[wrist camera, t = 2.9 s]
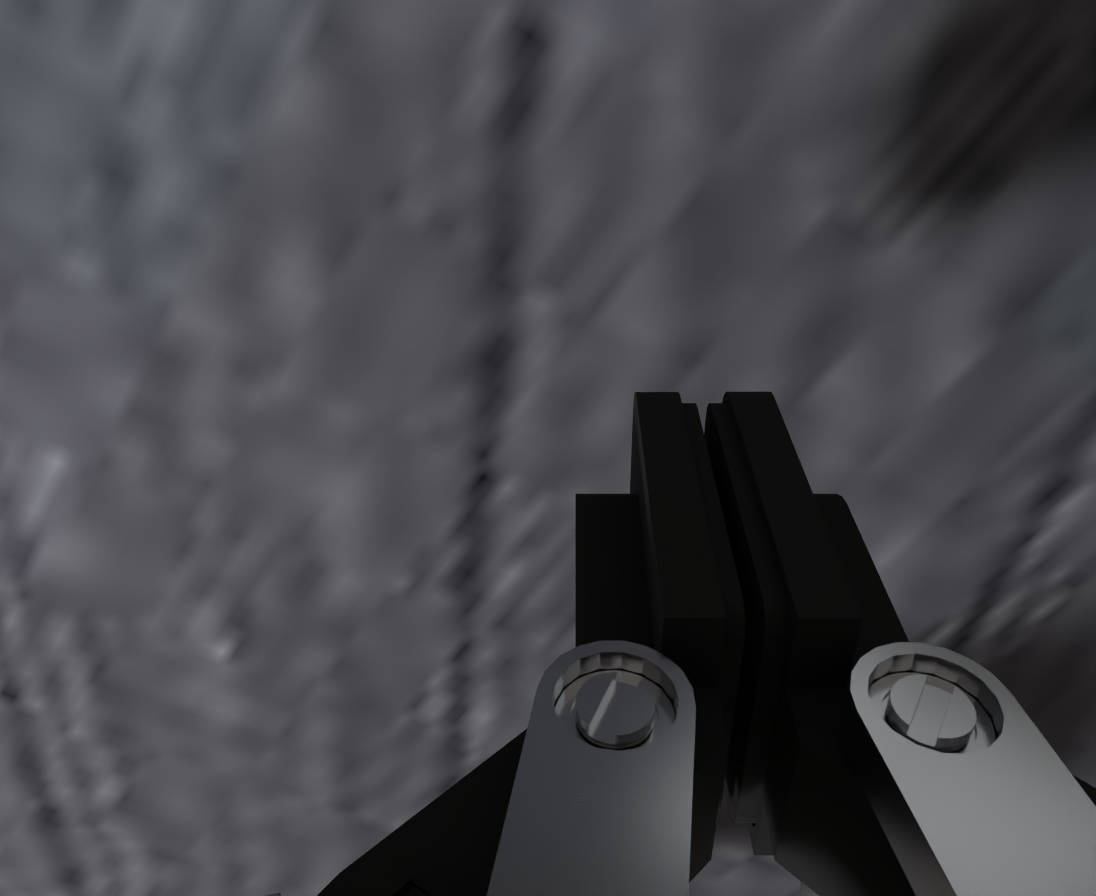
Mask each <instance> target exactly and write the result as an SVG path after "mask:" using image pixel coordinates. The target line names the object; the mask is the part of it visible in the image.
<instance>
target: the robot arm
mask: <svg viewBox="0 0 1096 896" xmlns="http://www.w3.org/2000/svg"><path fill="white" fill-rule="evenodd" d="M724 785H725V791H726V797H727V803H728V809H729V814H730V818H731V820H732V822H733V823H748V826H749V831H750V836H751V842H752V847H753V852H754V855H774V859H775V861H776V862H777V863H779V864H780V865H781V866H782V867H784V868H785V869H786V870H787V871H789V872H790V873H791V874H792V875H794V876H795V877H796V878H797V879H799V880H800V881H801V887H800V893H801V896H1096V788H1094V787H1093V786H1091V785H1089V784H1087V783H1086V782H1084V781H1082V780H1080V779H1079V778H1077V777H1075V776H1074V775H1072V774H1071V773H1070V771H1069V770H1068V769H1067V767H1066V766H1065V765H1064V763H1063V762H1062V761H1061V759H1060V758H1059V757H1058V755H1057V754H1056V753H1055V751H1054V750H1053V749H1052V747H1051V746H1050V744H1049V743H1048V742H1047V740H1046V739H1045V738H1044V736H1043V735H1042V734H1041V732H1040V731H1039V730H1038V728H1037V727H1036V726H1035V724H1034V723H1033V722H1032V720H1031V719H1030V718H1029V716H1028V715H1027V714H1026V712H1025V711H1024V710H1023V708H1022V707H1021V706H1020V704H1019V703H1018V702H1017V700H1016V699H1015V698H1014V696H1013V695H1012V693H1011V692H1010V691H1009V690H1008V689H1007V688H1006V687H1005V686H1004V685H1003V684H1002V683H1001V682H1000V681H999V680H998V679H997V678H996V676H995V675H994V674H993V673H991V672H990V671H988V670H987V669H985V668H984V667H982V666H981V665H979V664H978V663H976V662H975V661H973V660H972V659H970V658H968V657H965V656H963V655H961V654H958V653H956V652H954V651H951V650H949V649H947V648H943V647H939V646H934V645H930V644H925V643H921V642H909V641H908V638H907V636H906V634H905V632H904V630H903V627H902V625H901V623H900V621H899V618H898V616H897V614H896V612H895V610H894V607H893V605H892V603H891V601H890V598H889V596H888V594H887V592H886V590H885V587H884V585H883V583H882V581H881V578H880V576H879V574H878V572H877V570H876V567H875V565H874V563H873V561H872V558H871V556H870V554H869V552H868V550H867V547H866V545H865V543H864V541H863V539H862V536H861V534H860V532H859V530H858V527H857V525H856V523H855V521H854V519H853V516H852V514H851V512H850V510H849V507H848V505H847V503H846V502H845V500H844V499H843V497H842V496H840V495H838V494H813V493H812V490H811V488H810V485H809V483H808V480H807V478H806V475H805V473H804V470H803V468H802V465H801V463H800V460H799V458H798V455H797V453H796V450H795V448H794V445H793V443H792V440H791V438H790V435H789V433H788V430H787V428H786V425H785V423H784V420H783V418H782V415H781V413H780V410H779V408H778V406H777V403H776V401H775V398H774V396H773V394H772V392H726V393H725V394H724V397H723V401H722V403H709V404H708V407H707V412H706V421H705V432H704V433H703V429H702V425H701V421H700V417H699V412H698V408H697V405H696V404H695V403H682V402H681V398H680V394H679V392H635V395H634V406H633V430H632V455H631V480H630V494H576V647H575V648H573V649H572V650H570V651H568V652H566V653H564V654H562V655H560V656H559V657H558V658H557V659H556V660H555V661H554V662H553V663H552V664H551V665H550V666H549V667H548V668H547V669H546V670H545V672H544V674H543V676H542V679H541V681H540V683H539V685H538V687H537V691H536V695H535V699H534V703H533V707H532V711H531V715H530V719H529V723H528V728H527V729H526V730H525V731H523V732H522V733H521V734H520V735H518V736H517V737H516V738H514V739H513V740H512V741H510V742H509V743H508V744H507V745H505V746H504V747H503V748H501V749H500V750H499V751H497V752H496V753H495V754H494V755H492V756H491V757H490V758H488V759H487V760H486V761H484V762H483V763H482V764H481V765H479V766H478V767H477V768H475V769H474V770H473V771H472V772H470V773H469V774H468V775H466V776H465V777H464V778H462V779H461V780H460V781H459V782H457V783H456V784H455V785H453V786H452V787H451V788H449V789H448V790H447V791H446V792H444V793H443V794H442V795H440V796H439V797H438V798H436V799H435V800H434V801H433V802H431V803H430V804H429V805H427V806H426V807H425V808H424V809H422V810H421V811H420V812H418V813H417V814H416V815H414V816H413V817H412V818H411V819H409V820H408V821H407V822H405V823H404V824H403V825H401V826H400V827H399V828H398V829H396V830H395V831H394V832H392V833H391V834H390V835H388V836H387V837H386V838H385V839H383V840H382V841H381V842H379V843H378V844H377V845H376V846H374V847H373V848H372V849H370V850H369V851H368V852H366V853H365V854H364V855H363V856H361V857H360V858H359V859H357V860H356V861H355V862H353V863H352V864H351V865H350V866H348V867H347V868H346V869H344V870H343V871H342V872H340V873H339V874H338V875H337V876H336V877H335V878H334V879H333V880H332V881H331V882H330V883H329V884H328V885H327V886H326V887H325V888H324V889H323V890H322V891H321V892H320V893H319V894H318V896H688V893H689V882H690V881H691V880H692V879H693V878H694V877H695V876H696V875H697V874H698V873H699V872H700V871H701V870H702V869H703V868H704V866H705V865H706V864H707V863H708V862H709V861H710V860H711V856H712V849H713V842H714V835H715V828H716V823H717V822H718V820H719V815H720V808H721V801H722V794H723V787H724ZM266 896H281V894H280V893H275V894H271V895H266Z"/></svg>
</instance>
